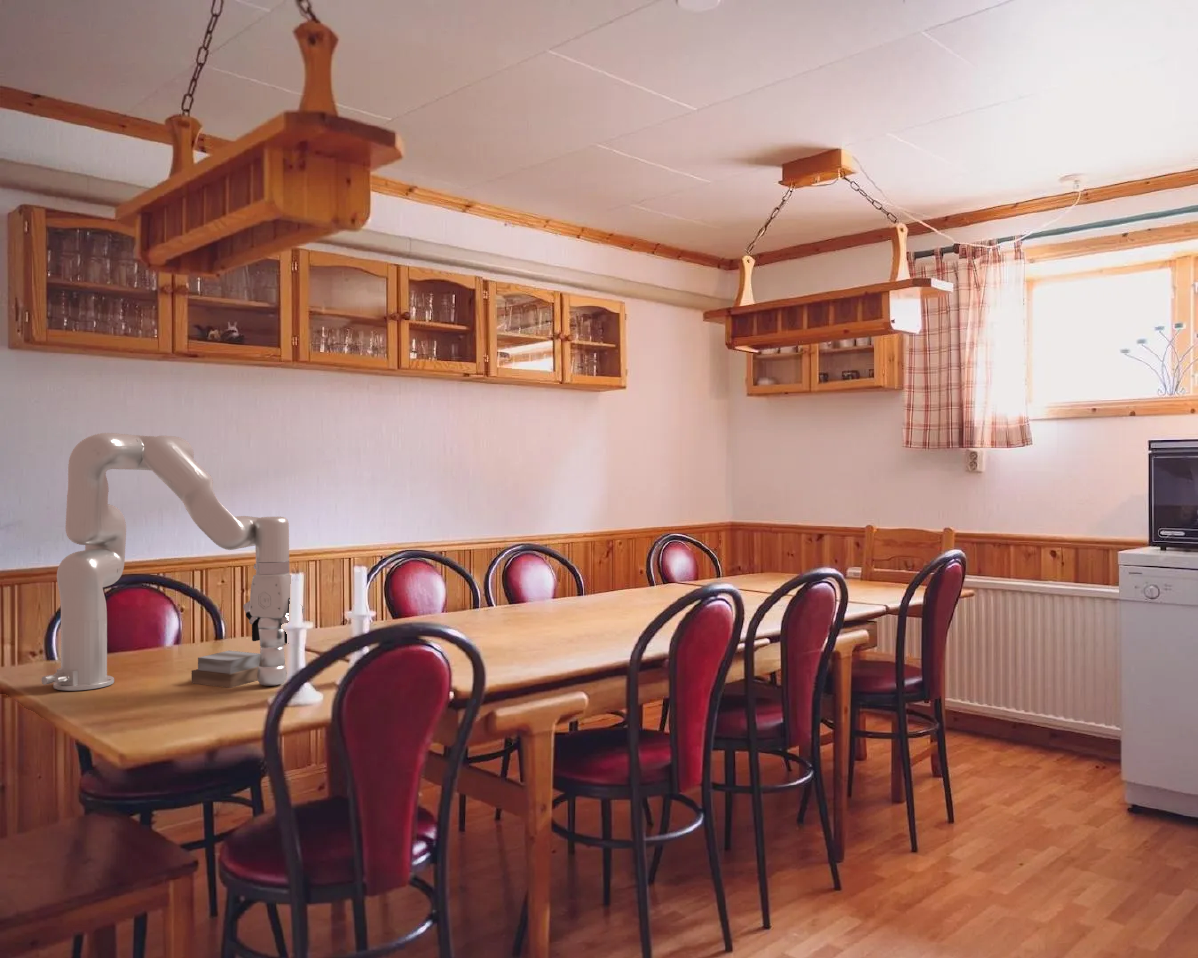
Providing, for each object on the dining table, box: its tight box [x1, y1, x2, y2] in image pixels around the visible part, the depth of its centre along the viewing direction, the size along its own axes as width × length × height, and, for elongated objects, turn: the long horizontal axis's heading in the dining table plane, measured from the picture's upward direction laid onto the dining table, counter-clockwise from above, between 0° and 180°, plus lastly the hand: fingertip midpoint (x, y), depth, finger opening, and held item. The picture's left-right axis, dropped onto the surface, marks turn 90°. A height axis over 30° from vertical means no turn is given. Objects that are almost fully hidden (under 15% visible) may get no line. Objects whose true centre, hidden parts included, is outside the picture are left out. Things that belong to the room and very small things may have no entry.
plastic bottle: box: [257, 618, 288, 687], centre depth 227 cm, size 6×7×20 cm
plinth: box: [191, 650, 260, 689], centre depth 232 cm, size 12×12×6 cm
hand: (273, 641), depth 227 cm, fingers open, 9 cm apart
